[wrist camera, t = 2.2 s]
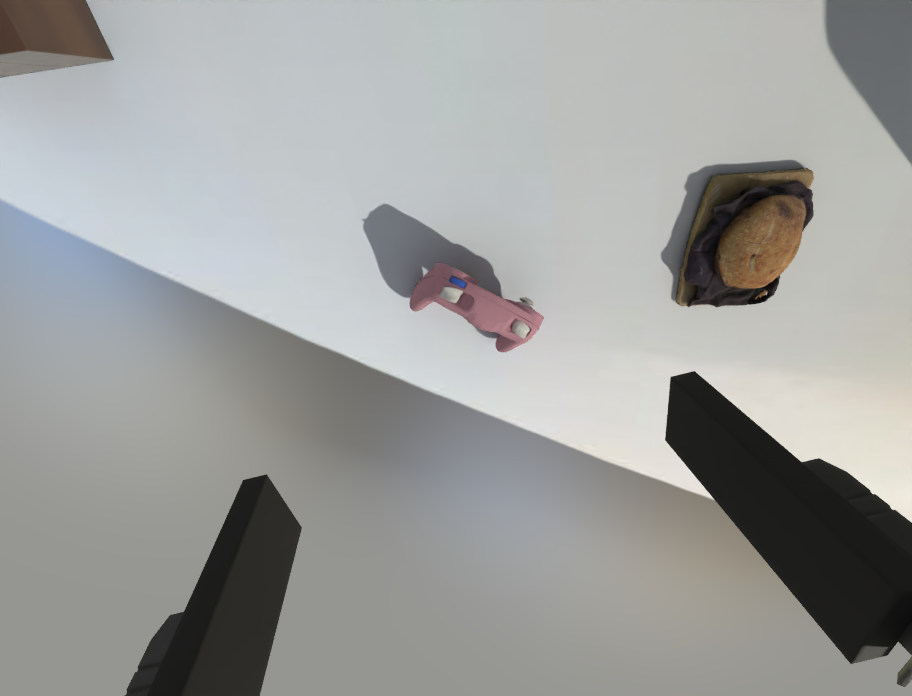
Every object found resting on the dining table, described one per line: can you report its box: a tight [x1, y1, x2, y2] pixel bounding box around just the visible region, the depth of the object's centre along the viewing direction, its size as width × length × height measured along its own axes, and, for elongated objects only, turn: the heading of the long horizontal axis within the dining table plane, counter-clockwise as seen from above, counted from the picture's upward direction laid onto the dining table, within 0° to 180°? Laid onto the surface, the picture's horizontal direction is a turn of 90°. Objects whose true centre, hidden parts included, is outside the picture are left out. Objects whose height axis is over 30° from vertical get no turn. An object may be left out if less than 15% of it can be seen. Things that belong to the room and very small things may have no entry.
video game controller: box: [410, 263, 544, 352], centre depth 31 cm, size 10×5×7 cm, turn 60°
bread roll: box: [676, 168, 814, 307], centre depth 30 cm, size 11×8×4 cm
